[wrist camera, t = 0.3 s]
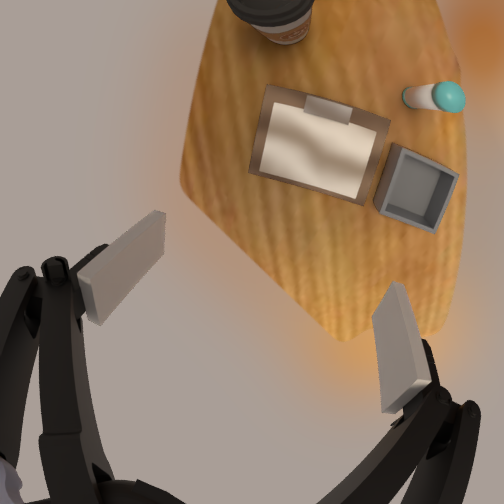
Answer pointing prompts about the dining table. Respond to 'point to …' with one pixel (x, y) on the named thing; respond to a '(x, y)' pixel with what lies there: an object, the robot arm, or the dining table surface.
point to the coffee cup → (276, 17)
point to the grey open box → (414, 189)
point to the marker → (435, 97)
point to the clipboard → (318, 144)
